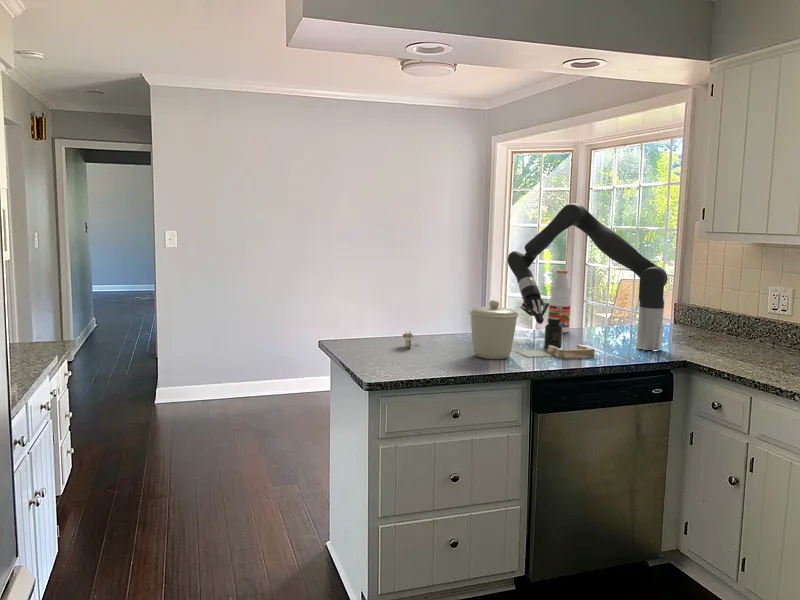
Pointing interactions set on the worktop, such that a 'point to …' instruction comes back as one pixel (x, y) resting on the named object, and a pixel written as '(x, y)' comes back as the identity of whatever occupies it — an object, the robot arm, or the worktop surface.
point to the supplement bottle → (553, 333)
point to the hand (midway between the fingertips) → (540, 322)
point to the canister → (493, 330)
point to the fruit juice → (560, 300)
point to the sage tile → (534, 353)
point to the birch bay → (571, 352)
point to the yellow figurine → (408, 339)
